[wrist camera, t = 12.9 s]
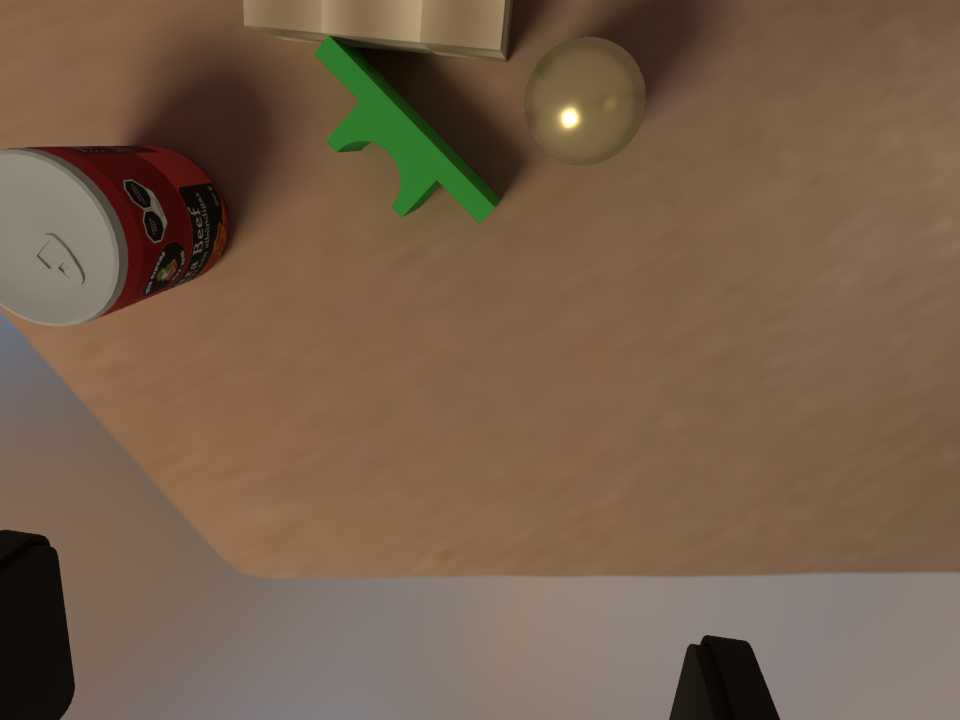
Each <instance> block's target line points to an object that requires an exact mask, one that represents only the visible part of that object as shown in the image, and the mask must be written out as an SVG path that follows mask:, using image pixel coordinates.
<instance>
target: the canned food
mask: <svg viewBox="0 0 960 720" xmlns="http://www.w3.org/2000/svg"><path fill="white" fill-rule="evenodd" d="M228 233H229V219H228V214H227V208H226V205H225V202H224V200H223V197H222V195H221V193H220V191H219V189H218V188H217V186H216V184H215V183H214V181H213V180H212V179H211V178H210V177H209V175H208V174H207V173H206V172H205V171H204V170H203V169H202V168H201V167H199V166H198V165H197V164H196V163H194V162H193V161H191V160H190V159H188V158H186V157H185V156H183V155H181V154H179V153H177V152H174V151H172V150H169V149H167V148H163V147H157V146H77V147H28V148H9V149H6V150H0V305H1V306H2V307H3V308H5V309H6V310H8V311H10V312H11V313H13V314H15V315H17V316H18V317H20V318H23V319H26V320H28V321H31V322H33V323H37V324H42V325H47V326H70V325H74V324H79V323H83V322H88V321H91V320H94V319H96V318H99V317H102V316H105V315H107V314H110V313H112V312H115V311H117V310H120V309H122V308H125V307H127V306H129V305H132V304H134V303H137V302H139V301H142V300H144V299H147V298H149V297H152V296H154V295H156V294H159V293H161V292H164V291H166V290H169V289H171V288H174V287H176V286H179V285H181V284H183V283H186V282H188V281H191V280H193V279H195V278H197V277H200V276H202V275H204V274H205V273H206V272H207V271H208V270H210V269H211V268H212V267H213V266H214V264H215V263H216V262H217V260H218V259H219V258H220V256H221V254H222V252H223V250H224V248H225V245H226V243H227V238H228Z"/></svg>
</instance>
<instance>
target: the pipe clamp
mask: <svg viewBox="0 0 960 720" xmlns="http://www.w3.org/2000/svg"><path fill="white" fill-rule="evenodd" d="M314 55H315V56H316V57H317V58H318V59H319V60H320V61H321V62H322V63H323V64H324V65H325V66H326V67H327V68H328V69H329V70H330V71H331V72H332V73H333V74H334V75H335V76H336V77H337V78H338V79H339V80H340V81H341V82H342V83H343V85H344V86H345V87H346V88H347V89H348V90H349V91H350V92H351V93H352V94H353V95H354V96H355V97H356V98H357V99H358V100H359V103H358V104H357V105H356V106H355V107H354V109H353V110H352V111H351V112H350V113H349V114H348V116H347V117H346V118H345V119H344V120H343V122H342V123H341V124H340V125H339V126H338V127H337V129H336V130H335V131H334V132H333V133H332V135H331V136H330V137H329V138H328V139H327V140H326V142H327V143H328V144H329V145H330V146H331V147H332V148H333V149H334V150H335V151H336V152H349V151H361V150H362V149H363V148H364V147H365V146H366V145H368V144H370V143H372V142H373V143H376V144H378V145H380V146H381V147H383V148H384V149H386V150H387V151H388V152H389V153H390V154H391V156H392V157H393V158H394V160H395V161H396V163H397V166H398V168H399V172H400V178H401V186H400V191H399V194H398V197H397V199H396V201H395V203H394V204H393V205H392V206H391V207H392V208H393V209H394V210H395V211H396V212H397V213H398V214H399V215H400V216H401V217H404V216H405V215H407V214H409V213H411V212H413V211H415V210H417V209H418V208H419V207H420V206H421V205H422V204H423V203H424V202H425V201H426V200H427V199H428V198H429V197H430V195H431V194H432V193H433V192H434V191H435V190H436V189H437V188H438V187H439V186H440V185H442V186H443V187H444V188H445V189H446V190H447V191H448V192H449V193H450V194H451V195H452V196H453V197H454V198H455V199H456V200H457V201H458V202H459V203H460V204H461V205H462V206H463V207H464V208H465V209H466V210H467V211H468V212H469V214H470V215H471V216H472V217H473V218H474V219H475V220H476V221H477V222H478V223H480V222H481V221H482V220H483V219H484V218H485V217H486V216H487V215H488V214H489V213H490V212H491V211H492V210H493V209H494V208H495V207H496V205H497V204H498V203H499V202H500V200H501V199H500V198H499V197H498V196H497V195H496V194H495V193H494V192H493V191H492V190H491V189H490V188H489V187H488V185H487V184H486V183H485V182H484V181H483V180H482V179H481V178H480V177H479V176H478V175H477V174H476V173H475V172H474V171H473V170H472V169H471V168H470V167H469V166H468V165H467V164H466V163H465V162H464V161H463V159H462V158H461V157H460V156H459V155H458V154H457V153H456V152H455V151H454V150H453V149H452V148H451V147H450V146H449V145H448V144H447V143H446V142H445V141H444V140H443V139H442V138H441V137H440V136H439V135H438V134H437V132H436V131H435V130H434V129H433V128H432V127H431V126H430V125H429V124H428V123H427V122H426V121H425V120H424V119H423V118H422V117H421V116H420V115H419V114H418V113H417V112H416V111H415V110H414V109H413V108H412V106H411V105H410V104H409V103H408V102H407V101H406V100H405V99H404V98H403V97H402V96H401V95H400V94H399V93H398V92H397V91H396V90H395V89H394V88H393V87H392V86H391V85H390V84H389V83H388V82H387V81H386V79H385V78H384V77H383V76H382V75H381V74H380V73H379V72H378V71H377V70H376V69H375V68H374V67H373V66H372V65H371V64H370V63H369V62H368V61H367V60H366V59H365V58H364V57H363V56H362V55H361V53H360V52H359V51H358V50H357V49H356V48H355V47H353V46H351V45H348V44H346V43H344V42H342V41H339V40H337V39H335V38H333V37H331V36H328V37H327V38H326V40H325V41H324V42H323V43H322V45H321V46H320V47H319V48H318V50H317V51H316V52H315V53H314Z"/></svg>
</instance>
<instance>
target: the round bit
mask: <svg viewBox="0 0 960 720" xmlns="http://www.w3.org/2000/svg"><path fill="white" fill-rule="evenodd" d="M645 106H646V89H645V83H644V79H643V76H642V73H641V71H640V69H639V67H638V65H637V63H636V62H635V60H634V59H633V58H632V56H631V55H630V54H629V53H628V52H627V51H626V50H625V49H623V48H622V47H620V46H619V45H618V44H616V43H614V42H612V41H610V40H606V39H603V38H598V37H579V38H574V39H571V40H568V41H566V42H563V43H561V44H559V45H558V46H556V47H554V48H553V49H552V50H551V51H549V52H548V53H547V54H546V55H545V56H544V57H543V58H542V59H541V61H540V62H539V63H538V64H537V66H536V68H535V69H534V71H533V73H532V75H531V77H530V80H529V82H528V86H527V90H526V95H525V114H526V119H527V123H528V126H529V129H530V131H531V133H532V135H533V137H534V138H535V140H536V141H537V143H538V144H539V145H540V146H541V148H542V149H543V150H545V151H546V152H547V153H548V154H549V155H551V156H552V157H554V158H556V159H558V160H560V161H562V162H565V163H569V164H574V165H590V164H595V163H600V162H602V161H605V160H607V159H609V158H611V157H613V156H615V155H616V154H617V153H619V152H620V151H621V150H622V149H624V148H625V147H626V146H627V145H628V143H629V142H630V141H631V140H632V139H633V137H634V136H635V134H636V133H637V131H638V129H639V127H640V125H641V122H642V119H643V116H644V112H645Z"/></svg>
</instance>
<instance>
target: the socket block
mask: <svg viewBox="0 0 960 720" xmlns="http://www.w3.org/2000/svg"><path fill="white" fill-rule="evenodd" d="M512 9H513V0H244V25H245V26H247V27H250V28H253V29H256V30H258V31H261V32H264V33H267V34H269V35H272V36H275V37H277V38H280V39H283V40H288V41H298V42H308V43H319V44H322V43H323V42H324V41H325V40H326V38H327V37H328V36H331V37H333V38H335V39H337V40H339V41H342V42H344V43H346V44H348V45H351V46H353V47H360V48H370V49H380V50H390V51H401V52H411V53H421V54H431V55H442V56H452V57H462V58H473V59H483V60H493V61H503V62H507V58H508V48H509V38H510V29H511V19H512Z"/></svg>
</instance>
